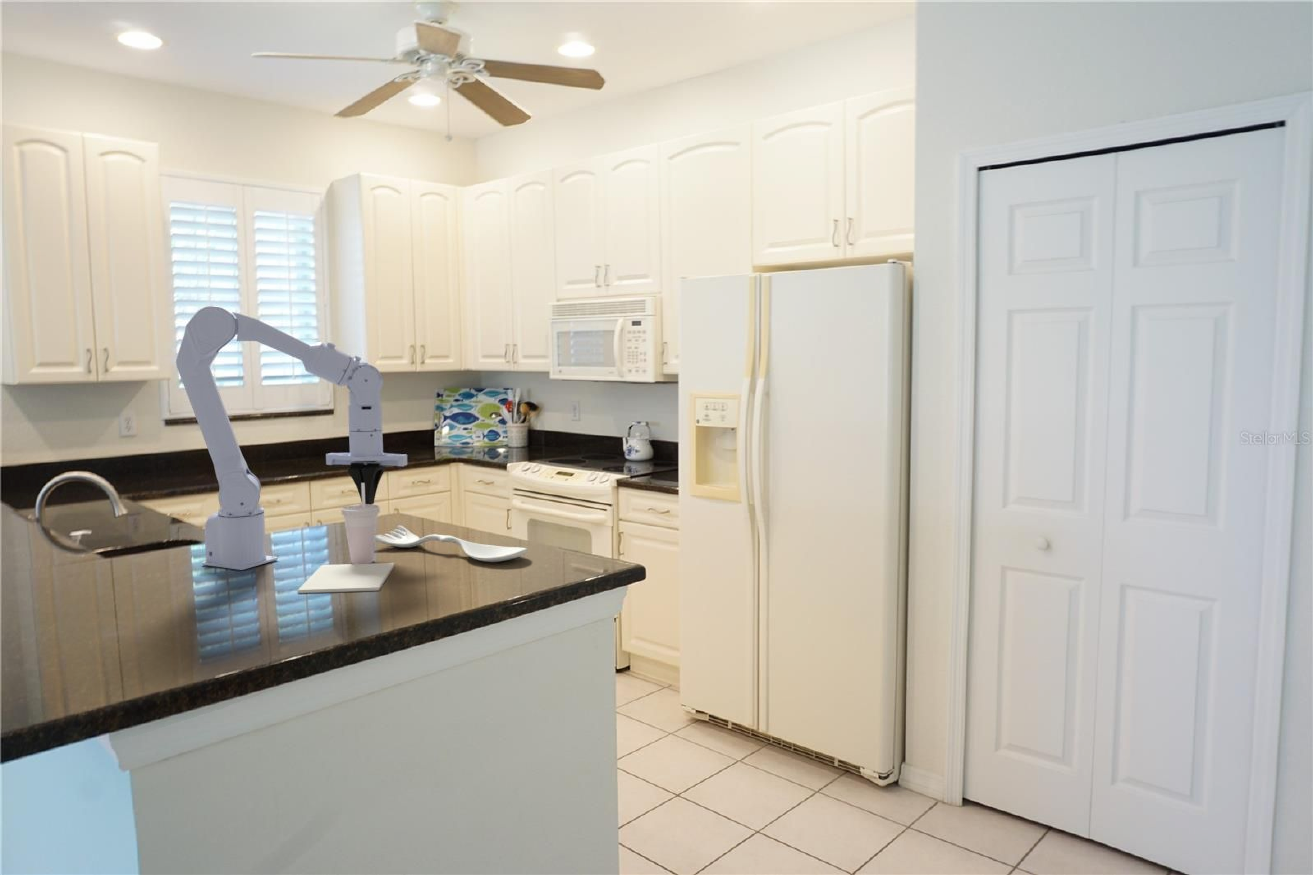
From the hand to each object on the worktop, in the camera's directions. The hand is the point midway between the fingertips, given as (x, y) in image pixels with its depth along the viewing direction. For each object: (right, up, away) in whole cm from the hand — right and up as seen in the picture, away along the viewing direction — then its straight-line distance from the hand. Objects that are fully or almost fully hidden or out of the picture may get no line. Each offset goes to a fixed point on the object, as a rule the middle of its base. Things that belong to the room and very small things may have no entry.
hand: (368, 504), depth 156 cm
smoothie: (+1, -10, -6) cm, 11 cm away
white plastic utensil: (+15, -9, +1) cm, 17 cm away
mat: (+2, -11, -17) cm, 20 cm away
